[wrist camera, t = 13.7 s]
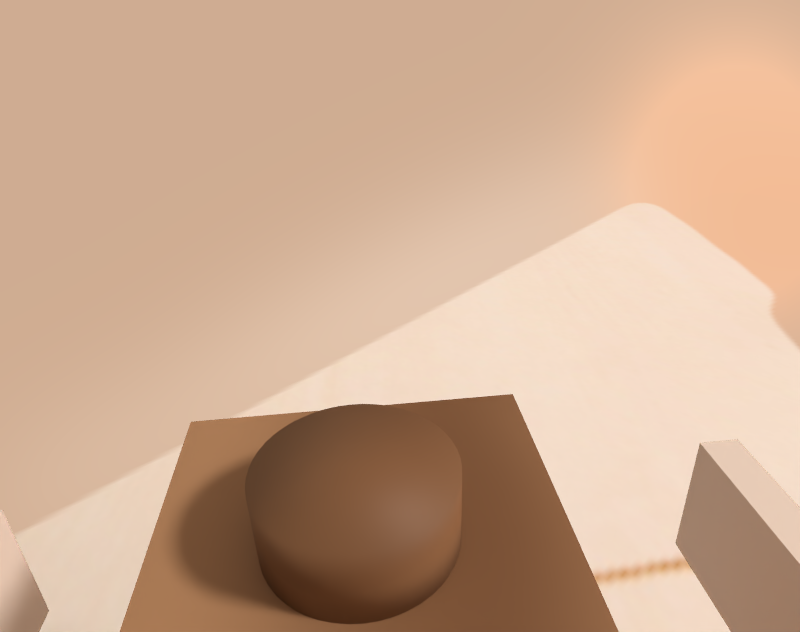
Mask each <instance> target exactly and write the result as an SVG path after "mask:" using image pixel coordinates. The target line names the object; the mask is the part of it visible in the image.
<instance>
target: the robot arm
mask: <svg viewBox="0 0 800 632" xmlns="http://www.w3.org/2000/svg"><path fill="white" fill-rule="evenodd" d="M676 545H677V546H678V548H679V549H680V551H681V553H682V554H683V556H684V557H685V559H686V561H687V562H688V564H689V565H690V567H691V569H692V570H693V572H694V573H695V575H696V576H697V578H698V580H699V581H700V583H701V584H702V586H703V588H704V589H705V591H706V592H707V594H708V596H709V597H710V599H711V600H712V602H713V604H714V605H715V607H716V608H717V610H718V612H719V613H720V615H721V616H722V618H723V619H724V621H725V623H726V624H727V626H728V627H729V629H730V631H731V632H800V507H799V506H798V505H797V504H796V503H795V502H794V501H793V499H792V498H791V497H790V496H789V495H788V494H787V493H786V492H785V491H784V490H783V489H782V487H781V486H780V485H779V484H778V483H777V482H776V481H775V480H774V479H773V478H772V477H771V475H770V474H769V473H768V472H767V471H766V470H765V469H764V468H763V467H762V466H761V464H760V463H759V462H758V461H757V460H756V459H755V458H754V457H753V456H752V455H751V454H750V452H749V451H748V450H747V449H746V448H745V447H744V446H743V445H742V444H741V443H740V442H739V440H738V439H737V440H726V441H716V442H705V443H700V445H699V450H698V454H697V458H696V462H695V466H694V470H693V474H692V478H691V482H690V486H689V490H688V494H687V498H686V503H685V507H684V511H683V515H682V519H681V523H680V527H679V531H678V535H677V539H676ZM48 611H49V610H48V607H47V605H46V603H45V601H44V599H43V597H42V594H41V592H40V590H39V588H38V586H37V584H36V582H35V579H34V577H33V575H32V573H31V571H30V569H29V566H28V564H27V562H26V560H25V558H24V556H23V553H22V551H21V549H20V547H19V545H18V543H17V541H16V538H15V536H14V534H13V532H12V530H11V528H10V525H9V523H8V521H7V519H6V517H5V515H4V513H3V511H2V510H0V632H39V631H40V629H41V626H42V624H43V622H44V620H45V618H46V616H47V613H48Z"/></svg>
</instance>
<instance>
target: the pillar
mask: <svg viewBox="0 0 800 632" xmlns="http://www.w3.org/2000/svg"><path fill="white" fill-rule="evenodd" d="M120 632H618V630H617V627H616V625H615V623H614V621H613V618H612V616H611V614H610V612H609V609H608V607H607V605H606V603H605V600H604V598H603V596H602V594H601V591H600V589H599V587H598V585H597V582H596V580H595V578H594V576H593V573H592V571H591V569H590V567H589V564H588V562H587V560H586V558H585V556H584V553H583V551H582V549H581V547H580V544H579V542H578V540H577V538H576V535H575V533H574V531H573V529H572V526H571V524H570V522H569V520H568V517H567V515H566V513H565V511H564V508H563V506H562V504H561V502H560V499H559V497H558V495H557V493H556V490H555V488H554V486H553V484H552V482H551V479H550V477H549V475H548V473H547V470H546V468H545V466H544V464H543V461H542V459H541V457H540V455H539V452H538V450H537V448H536V446H535V443H534V441H533V439H532V437H531V434H530V432H529V430H528V428H527V425H526V423H525V421H524V419H523V416H522V414H521V412H520V410H519V407H518V405H517V403H516V401H515V399H514V396H513V394H510V395H498V396H487V397H475V398H463V399H452V400H440V401H429V402H417V403H405V404H394V405H375V404H357V405H346V406H338V407H333V408H329V409H325V410H321V411H312V412H300V413H289V414H277V415H265V416H254V417H242V418H230V419H219V420H207V421H196V422H191V423H190V426H189V429H188V432H187V435H186V438H185V441H184V444H183V447H182V450H181V453H180V456H179V459H178V462H177V465H176V467H175V470H174V473H173V476H172V479H171V482H170V485H169V488H168V491H167V494H166V497H165V500H164V503H163V506H162V509H161V512H160V515H159V518H158V520H157V523H156V526H155V529H154V532H153V535H152V538H151V541H150V544H149V547H148V550H147V553H146V556H145V559H144V562H143V565H142V568H141V571H140V574H139V576H138V579H137V582H136V585H135V588H134V591H133V594H132V597H131V600H130V603H129V606H128V609H127V612H126V615H125V618H124V621H123V624H122V627H121V630H120Z"/></svg>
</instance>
